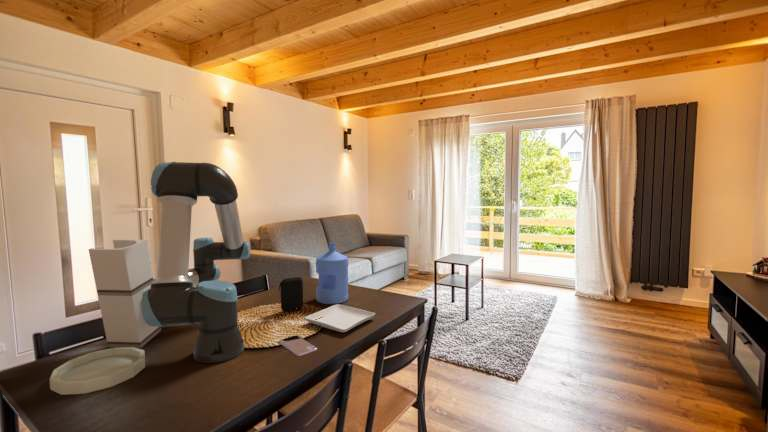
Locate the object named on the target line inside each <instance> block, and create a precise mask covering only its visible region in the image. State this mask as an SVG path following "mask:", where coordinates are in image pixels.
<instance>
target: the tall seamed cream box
mask: <svg viewBox="0 0 768 432" xmlns="http://www.w3.org/2000/svg"><path fill="white" fill-rule="evenodd" d="M112 242H113V243H112V244H113V248H88V253H89V258H90V263H91V264H90V265H91V268H92V273H93V277H94V278H93V279H94V283H95V289H96V293H97V298H98V303H99V308H100V314H101V317H102V318H101V319H102V323H103V328H104V332H105V334H104V335H105V338H106V344H107V347H108V348H118V347H135V348H138V349H142V348H143V347H144V346H145V345H147V343H148V342H150V341H151V340H152V339H153V338H154V337H156V336H157V335H158V334H159V333H160V332H161V331H162V327H152V326H149V325H148V324H147V323H146V322H145V320H144V318H143V315H142V310H141V299H142V292H143V291H146V290H148V289H151V283H152V282H153V279H154V276H153V275H154V274H153V270H152V269H153V268H152V263H151V257H150V256H151V255H150V251H149V243H148V239H122V238H120V239H116V238H115V239H113V240H112Z"/></svg>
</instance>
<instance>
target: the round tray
mask: <svg viewBox="0 0 768 432" xmlns="http://www.w3.org/2000/svg"><path fill="white" fill-rule="evenodd" d="M145 353H146V351H145V349H142V348H135V347H109V348H107V349H106V348H105V349H102V350H97V351H96V350H95V351H91V352H89V353H86V354H83V355H80V356H77V357H75V358H71V359H70V360H68V361H66V362H64V363H62V364H61V365H59V366H58V367H56V368H54V369H53V371H52V373H51V374H50V377H49V389H50V390H51V391H53V392H55V393H57V394H58V395H61V396H62V395H63V396H64V395H67V396H68V395H83V394H84V395H85V394H88V393H92V392H97V391H100V390H105V389H108V388H113V387H115V386H116V385H117V386H118V385H119V384H121V383H123V382H125V381H128V380H130V379H132V378H134V377H135V376H137V374H139V372H141V371H142V370H144V369H145V368H146V356H145Z"/></svg>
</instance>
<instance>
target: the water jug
mask: <svg viewBox="0 0 768 432" xmlns="http://www.w3.org/2000/svg"><path fill="white" fill-rule="evenodd" d="M315 268H316V269H315V272H316V274H317V275H318V283H317V285H316V286H315V287H316V289H315V291H316V295H315V299H316V301H317V302H318V303H320V304H324V305H336V304H342V303H344V302H346V301H348V300H349V257H348V256H347V255H344V254H343V253H340V252H338V251H336V243H335V242H328V251H326V252H325V253H323V254H320V255H319V256H317V257H316V258H315Z"/></svg>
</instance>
